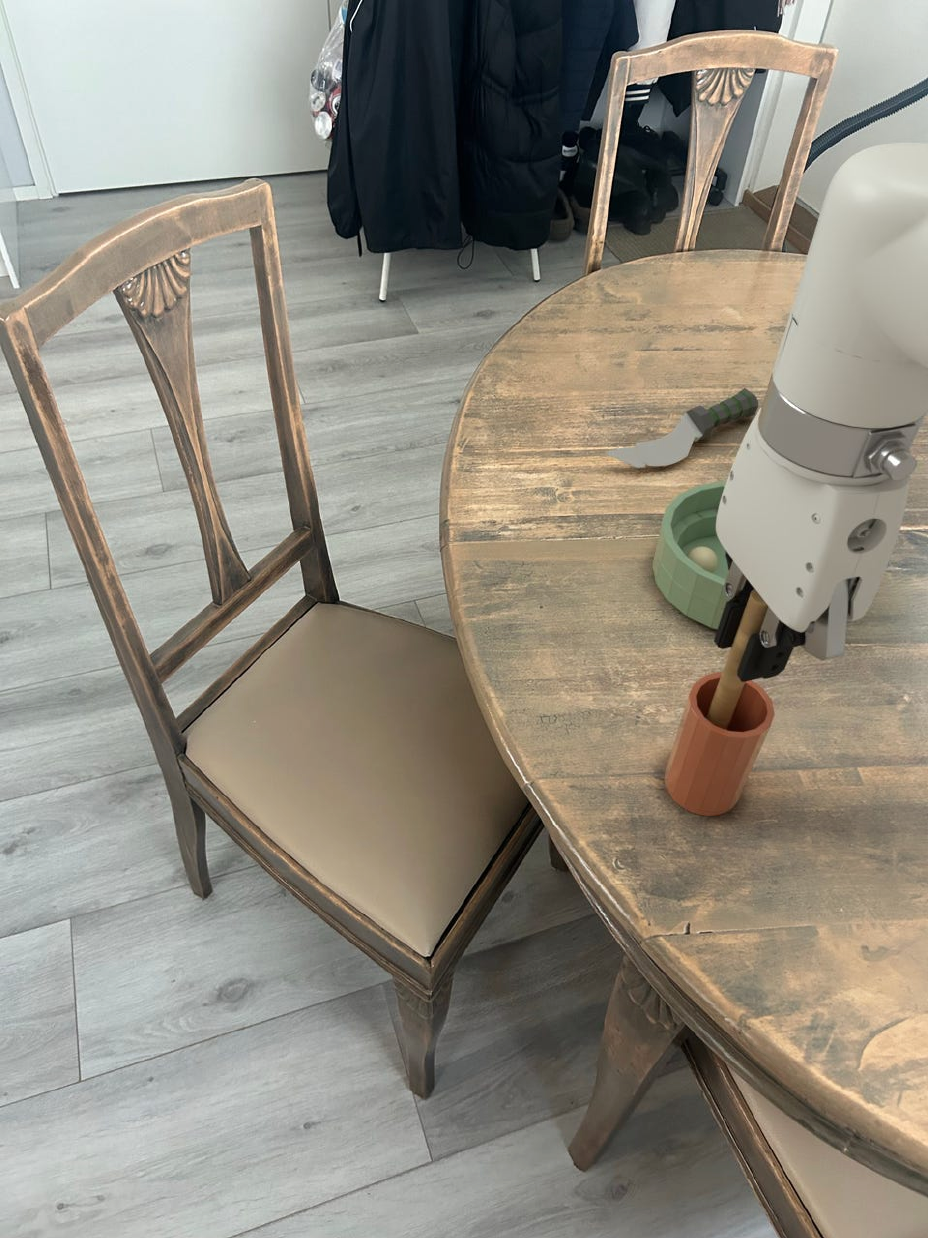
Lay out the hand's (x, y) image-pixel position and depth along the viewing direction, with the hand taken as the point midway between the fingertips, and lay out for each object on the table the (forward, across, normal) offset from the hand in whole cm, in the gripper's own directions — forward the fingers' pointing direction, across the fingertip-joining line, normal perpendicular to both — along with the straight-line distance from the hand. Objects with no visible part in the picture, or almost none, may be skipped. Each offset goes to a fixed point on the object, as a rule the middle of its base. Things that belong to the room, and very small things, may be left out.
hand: (748, 656), depth 58 cm
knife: (+15, +42, -20) cm, 49 cm away
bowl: (+15, +20, -14) cm, 29 cm away
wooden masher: (+14, 0, +1) cm, 14 cm away
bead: (+13, +21, -11) cm, 27 cm away
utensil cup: (+15, 0, 0) cm, 15 cm away
